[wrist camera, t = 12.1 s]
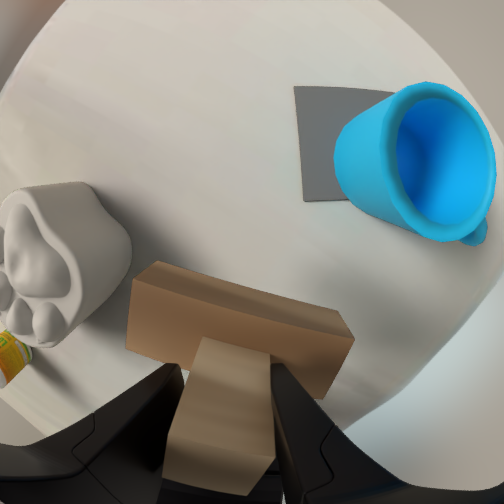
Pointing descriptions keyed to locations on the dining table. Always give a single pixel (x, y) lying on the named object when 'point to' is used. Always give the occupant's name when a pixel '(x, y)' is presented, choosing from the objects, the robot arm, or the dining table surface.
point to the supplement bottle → (12, 357)
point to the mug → (420, 163)
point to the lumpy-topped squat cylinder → (57, 260)
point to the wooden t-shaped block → (228, 367)
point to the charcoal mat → (326, 133)
